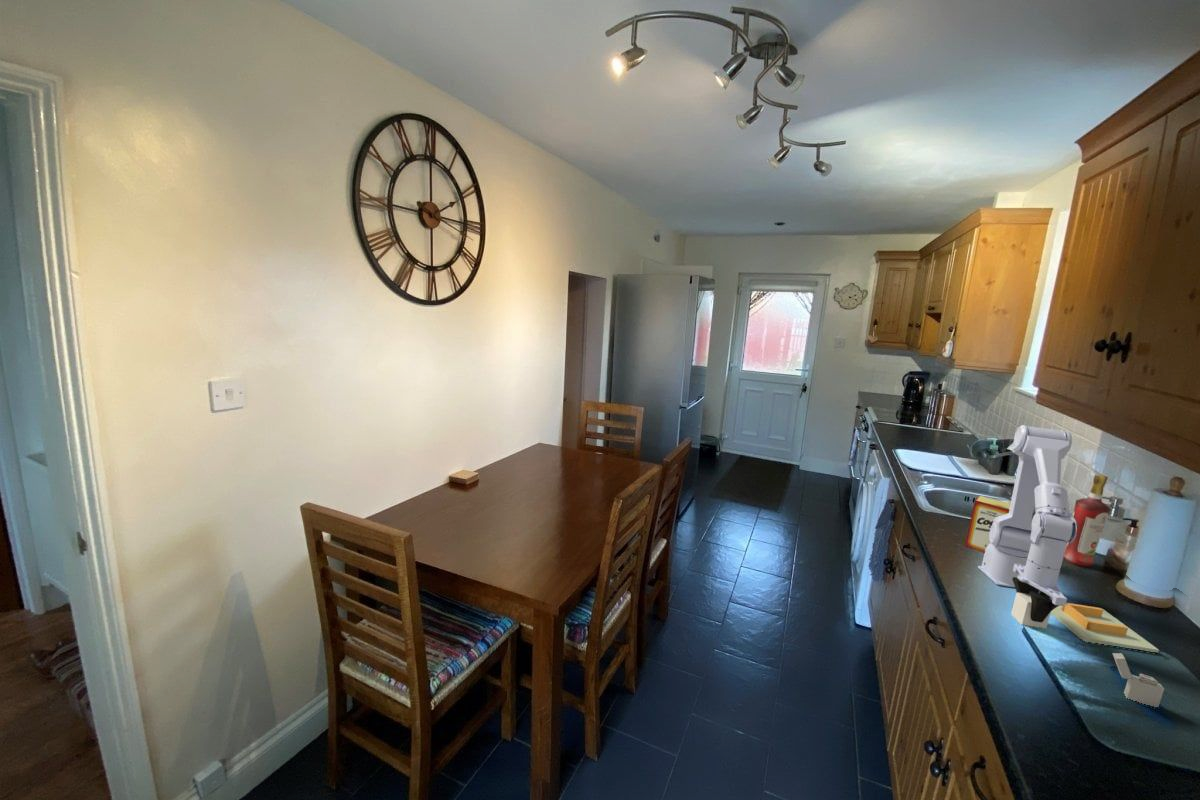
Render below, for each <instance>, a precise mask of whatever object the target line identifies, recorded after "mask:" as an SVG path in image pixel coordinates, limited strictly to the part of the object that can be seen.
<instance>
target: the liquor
mask: <svg viewBox="0 0 1200 800" xmlns="http://www.w3.org/2000/svg"><path fill="white" fill-rule="evenodd" d="M1108 478H1109V476H1108V475H1107V476H1106V475H1104V474H1099V473H1098V474H1097V473H1095V474H1094V475H1093V480H1092V486H1091V489H1090V491H1089V493H1088V495H1087V498H1079V499H1076V500H1075V504H1074V509H1073V513H1072V514H1073V517H1074V519H1075V520H1076V523H1077V533H1076V537H1075V539H1074V541H1073V542H1071V543H1069V542H1066V543H1067V547H1066V550H1065V554H1064V557H1063V558H1065V559H1066V561H1067V562H1068V561H1069V562H1068V563H1070V562H1071V563H1070V564H1072V563H1073V565H1075V564H1076V566H1078V565H1079V567H1089V566H1092V565H1095V563H1094V557H1095V555H1096V551H1097V548H1098V545H1099V542H1100V540H1101V537H1102V535H1103V533H1104V532H1103V531H1104V529H1105V526H1106V524H1107V521H1108V518H1109V515H1110V513H1111V510H1112V508H1111V507H1110V506H1109V505H1108V504H1106V503H1105V502H1103V494H1104V489H1105V488H1104V487H1105V486H1106V484H1107V481H1108Z"/></svg>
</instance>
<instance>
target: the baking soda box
mask: <svg viewBox="0 0 1200 800" xmlns="http://www.w3.org/2000/svg"><path fill="white" fill-rule="evenodd" d="M1010 504H1011V502H1005V501H1002V500H999V499H993V498H991V497H990V498H989V497H988V496H987V497H986V496H983V495H977V497H976V499H975V500H974V503H973V507H972V511H971V516H970V521H969V525H968V528H967V534H966V538H965V542H964V546H965V545H966V546H969V547H971V548H970V549H972V548H974V549H973V550H975V549H978V550H980V551H979V552H981V551H983V552H982V553H984V552H985V549H986V547H987V546H988V545H989V544H990V543H991V542H990V539H989V533H990V529H991V526H992V525H993V521H994V519H995V518H996V517H998V516H1002V515H1005V514H1008V513H1009V509H1010ZM1011 527H1012V526H1011ZM966 546H965V547H966ZM969 547H968V548H969ZM978 550H977V551H978Z"/></svg>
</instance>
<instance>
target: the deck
mask: <svg viewBox="0 0 1200 800" xmlns="http://www.w3.org/2000/svg"><path fill="white" fill-rule="evenodd" d="M1050 615H1052V616H1053V617H1054V618H1055V619H1056V620H1057V621H1059V622H1060V623H1061V624H1062V625H1063V626H1064V627H1066V628H1067V629H1068V630H1070V632H1072V633H1073V634H1074V635H1075V636H1076V637H1078V638H1079V639H1080V640H1081V639H1082V640H1083V641H1085V642H1084V643H1088V642H1091V643H1090V644H1095V643H1098V644H1097V645H1101V644H1104V645H1103V646H1107V645H1113V646H1120V647H1126V648H1133V649H1140V650H1145V651H1151V652H1158V653H1159V652H1160V649H1158V648H1157V647H1156V646H1154V644H1152V643H1150V642H1149V641H1148V640H1146V639H1145V638H1144V637H1142V636H1141V635H1139V634H1138V633H1137V632H1135V631H1134V630H1132V628H1130V627H1128V626H1127V625H1125V623H1123V622H1121V621H1120V620H1119V619H1118V618H1116V617H1114V616H1113V615H1112V614H1111V613H1109V612H1107V610H1105V609H1104V608H1101V607H1097V606H1091V605H1090V606H1088V605H1083V604H1076V603H1070V602H1066V605H1065V606H1058V607H1056V608H1055V609H1053V610H1052V611H1051V613H1050ZM1082 640H1081V641H1082ZM1113 646H1112V647H1113Z"/></svg>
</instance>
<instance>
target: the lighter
mask: <svg viewBox="0 0 1200 800" xmlns="http://www.w3.org/2000/svg"><path fill="white" fill-rule="evenodd" d="M1111 654H1112V656H1113V658H1114V661H1115V665H1116V666H1117V670H1118V672H1119V674H1120V677H1122V679H1126V680H1127V681H1126V685H1125V687H1124V691H1123V694H1125V695H1124V696H1126V697H1125V699H1127V698H1128V700H1129V699H1131V700H1130V701H1132V700H1133V702H1135V701H1137V702H1136V703H1138V702H1139V704H1141V703H1142V704H1141V705H1144V704H1146V705H1145V706H1147V705H1150V706H1154V707H1158V708H1159V706H1160V703H1161V699H1162V697H1163V695H1164V691H1165V688H1164V686H1163V685H1162V684H1161V683H1159V681H1158V680H1157V679H1155V678H1154V677H1153V676H1149V675H1146V674H1143V673H1141V672H1140V673H1139V676H1137V675H1134V674H1132V673H1131V671H1130V668H1129V665H1128V662H1127V660H1126V658H1125V656H1124V655H1123V652H1122V653H1121V652H1119V653H1118V652H1117V653H1116V652H1112V653H1111Z"/></svg>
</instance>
